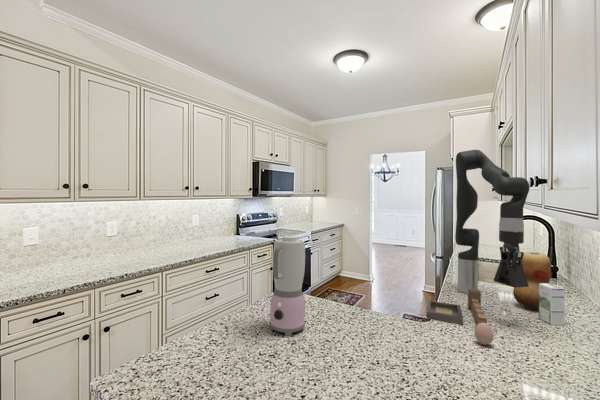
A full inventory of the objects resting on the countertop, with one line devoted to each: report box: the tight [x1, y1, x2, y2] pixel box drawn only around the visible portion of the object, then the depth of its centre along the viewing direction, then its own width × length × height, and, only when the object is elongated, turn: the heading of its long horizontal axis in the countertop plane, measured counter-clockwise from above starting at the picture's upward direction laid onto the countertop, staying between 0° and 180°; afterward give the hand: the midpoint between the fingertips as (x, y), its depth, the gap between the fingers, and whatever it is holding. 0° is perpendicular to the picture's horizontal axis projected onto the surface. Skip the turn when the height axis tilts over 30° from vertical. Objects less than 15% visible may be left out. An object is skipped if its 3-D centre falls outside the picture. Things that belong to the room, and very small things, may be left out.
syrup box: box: [538, 282, 566, 326], centre depth 112 cm, size 6×6×14 cm
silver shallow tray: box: [426, 299, 464, 326], centre depth 117 cm, size 15×12×3 cm
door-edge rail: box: [467, 289, 488, 326], centre depth 113 cm, size 28×4×8 cm, turn 154°
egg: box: [474, 323, 494, 346], centre depth 92 cm, size 5×5×7 cm
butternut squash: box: [512, 251, 552, 310], centre depth 127 cm, size 14×13×25 cm
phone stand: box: [493, 252, 529, 288], centre depth 108 cm, size 9×6×12 cm, turn 13°
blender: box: [269, 235, 306, 337], centre depth 99 cm, size 16×12×32 cm
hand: (510, 275), depth 108 cm, fingers closed on phone stand, 3 cm apart
